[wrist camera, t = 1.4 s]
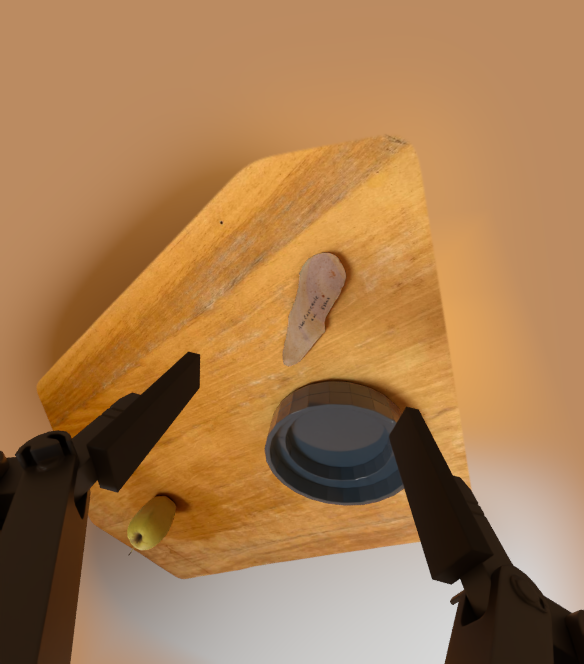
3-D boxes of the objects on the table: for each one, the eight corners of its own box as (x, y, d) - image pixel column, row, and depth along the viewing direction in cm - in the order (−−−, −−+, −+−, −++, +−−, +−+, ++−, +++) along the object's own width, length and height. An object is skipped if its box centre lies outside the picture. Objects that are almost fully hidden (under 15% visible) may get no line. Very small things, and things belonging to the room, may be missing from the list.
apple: (181, 521, 52) (138, 573, 43) (157, 498, 54) (112, 544, 45) (186, 505, 48) (141, 558, 40) (161, 481, 50) (112, 527, 42)
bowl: (286, 363, 30) (279, 386, 26) (431, 400, 30) (450, 430, 25) (263, 455, 39) (256, 484, 35) (375, 485, 39) (382, 518, 34)
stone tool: (308, 370, 30) (356, 261, 23) (304, 376, 28) (354, 262, 22) (275, 353, 31) (312, 244, 24) (270, 357, 30) (308, 244, 23)
